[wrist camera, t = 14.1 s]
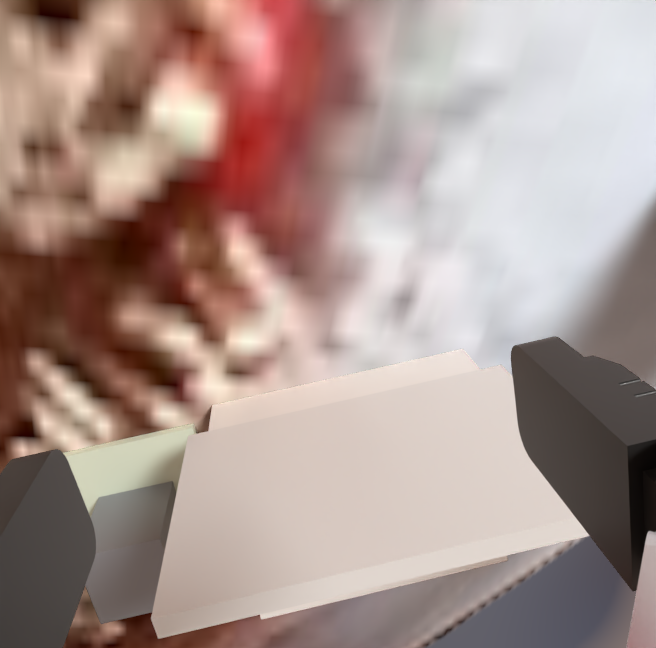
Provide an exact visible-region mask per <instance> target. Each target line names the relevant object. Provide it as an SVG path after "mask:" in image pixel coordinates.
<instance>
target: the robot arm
mask: <svg viewBox="0 0 656 648" xmlns="http://www.w3.org/2000/svg"><path fill="white" fill-rule="evenodd" d="M511 365H512V374H513V384H514V393H515V403H516V412H517V421H518V428H519V433H520V437H521V440H522V443H523V446H524V448H525V450H526V452H527V454H528V456H529V458H530V459H531V461H532V462H533V463H534V464H535V466H536V467H537V468H538V470H539V471H540V472H541V473H542V475H543V476H544V477H545V479H546V480H547V481H548V483H549V484H550V485H551V486H552V488H553V489H554V490H555V492H556V493H557V494H558V495H559V497H560V498H561V499H562V501H563V502H564V503H565V504H566V506H567V507H568V508H569V510H570V511H571V512H572V514H573V515H574V516H575V517H576V519H577V520H578V521H579V523H580V524H581V525H582V526H583V528H584V529H585V530H586V532H587V533H588V534H589V535H590V537H591V538H592V539H593V541H594V542H595V543H596V545H597V546H598V547H599V548H600V550H601V551H602V552H603V554H604V555H605V556H606V557H607V559H608V560H609V561H610V563H611V564H612V565H613V566H614V568H615V569H616V570H617V572H618V573H619V574H620V575H621V577H622V578H623V579H624V581H625V582H626V583H627V584H628V586H629V587H630V588H631V590H632V591H636V590H637V591H636V597H635V603H634V609H633V614H632V619H631V625H630V631H629V636H628V642H627V648H656V389H654V388H653V387H651V386H650V385H649V384H647V383H646V382H644V381H642V382H641V381H640V378H639V377H637V376H636V375H634V374H633V373H632V372H630V371H629V370H627V369H626V368H625V367H623V366H622V365H620V364H617V363H614V362H611V361H608V360H604V359H601V358H598V357H595V356H590V357H585V358H584V357H583V356H582V355H581V354H579V353H578V352H577V351H575V350H574V349H573V348H571V347H570V346H569V345H568V344H566V343H565V342H564V341H562V340H561V339H560V338H558V337H550V338H546V339H542V340H537V341H533V342H528V343H524V344H520V345H515V346H514V347H513V348H512V351H511ZM95 554H96V537H95V531H94V526H93V523H92V520H91V518H90V515H89V513H88V510H87V508H86V505H85V502H84V500H83V497H82V495H81V492H80V490H79V487H78V485H77V482H76V480H75V477H74V475H73V472H72V470H71V467H70V465H69V462H68V460H67V458H66V457H65V455H64V454H63V453H62V452H61V451H60V450H57V449H55V450H51V451H46V452H42V453H38V454H33V455H29V456H25V457H20V458H16V459H12V460H11V461H10V462H9V463H8V464H7V465H6V467H5V468H4V470H3V471H2V473H1V474H0V648H63V646H64V643H65V640H66V637H67V635H68V632H69V629H70V626H71V624H72V621H73V618H74V615H75V612H76V610H77V607H78V604H79V601H80V598H81V596H82V593H83V590H84V587H85V584H86V582H87V579H88V576H89V573H90V571H91V568H92V565H93V562H94V559H95Z"/></svg>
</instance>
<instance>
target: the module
mask: <svg viewBox="0 0 656 648" xmlns="http://www.w3.org/2000/svg"><path fill="white" fill-rule="evenodd" d="M175 498H176V490H175V487H174V483H173V481H170V482H166V483H161V484H157V485H152V486H148V487H143V488H138V489H134V490H129V491H125V492H120V493H116V494H111V495H107V496H102V497H99V498H98V500H97V503H96V505H95V508H94V510H93V513H92V515H91V520H92V523H93V526H94V531H95V537H96V554H95V559H94V562H93V565H92V568H91V571H90V573H89V576H88V579H87V582H86V584H85V586H86V589H87V591H88V593H89V596H90V598H91V601H92V603H93V606H94V608H95V611H96V613H97V616H98V618H99V621H100V623H101V624H103V623H107V622H111V621H116V620H120V619H125V618H129V617H133V616H138V615H142V614H146V613H151V612H152V611H153V606H154V601H155V596H156V591H157V587H158V582H159V577H160V572H161V567H162V562H163V557H164V552H165V547H166V542H167V537H168V533H169V528H170V523H171V518H172V513H173V508H174V503H175Z"/></svg>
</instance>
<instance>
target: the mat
mask: <svg viewBox="0 0 656 648" xmlns="http://www.w3.org/2000/svg"><path fill="white" fill-rule="evenodd" d="M194 434H197V433H196V429H195V426H194V423H193V424H189V425H184V426H180V427H175V428H171V429H166V430H162V431H158V432H153V433H149V434H144V435H140V436H136V437H131V438H127V439H122V440H118V441H113V442H109V443H105V444H100V445H96V446H91V447H87V448H83V449H78V450H74V451H69V452H65V453H63V454H64V455H65V457H66V458H67V460H68V462H69V465H70V467H71V470H72V472H73V475H74V477H75V480H76V482H77V485H78V487H79V490H80V492H81V495H82V497H83V500H84V502H85V505H86V508H87V510H88V513H89V515H90V518H91V515H92V513H93V510H94V508H95V505H96V503H97V500H98V498H99V497H102V496H107V495H111V494H116V493H120V492H125V491H129V490H134V489H138V488H143V487H148V486H152V485H157V484H161V483H166V482H170V481H173V483H174V487H175V490H176V493H177V488H178V483H179V479H180V474H181V469H182V464H183V459H184V454H185V449H186V444H187V439H188V436H189V435H194Z"/></svg>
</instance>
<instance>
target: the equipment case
mask: <svg viewBox="0 0 656 648" xmlns="http://www.w3.org/2000/svg"><path fill="white" fill-rule="evenodd" d="M587 536H590V535H589V534H588V533H587V532H586V530H585V529H584V528H583V526H582V525H581V524H580V523H579V521H578V520H577V519H576V517H575V516H574V515H573V514H572V512H571V511H570V510H569V508H568V507H567V506H566V504H565V503H564V502H563V501H562V499H561V498H560V497H559V495H558V494H557V493H556V492H555V490H554V489H553V488H552V486H551V485H550V484H549V483H548V481H547V480H546V479H545V477H544V476H543V475H542V473H541V472H540V471H539V470H538V468H537V467H536V466H535V464H534V463H533V462H532V461H531V459H530V458H529V456H528V454H527V452H526V450H525V448H524V446H523V443H522V440H521V437H520V433H519V428H518V421H517V412H516V403H515V393H514V384H513V377H512V375H511V374H510V373H509V372H508V371H507V370H506V369H505V368H504V367H503V366H502V365H497V366H493V367H488V368H484V369H480V368H479V367H478V366H477V365H476V364H475V362H474V361H473V360H472V359H471V358H470V357H469V355H468V354H467V353H466V352H465V351H464V350H463V349H458V350H454V351H449V352H445V353H441V354H436V355H432V356H427V357H423V358H418V359H414V360H410V361H405V362H401V363H396V364H392V365H387V366H383V367H379V368H374V369H370V370H365V371H361V372H356V373H352V374H348V375H343V376H339V377H334V378H330V379H325V380H321V381H316V382H312V383H308V384H303V385H299V386H294V387H290V388H285V389H281V390H277V391H272V392H268V393H263V394H259V395H254V396H250V397H246V398H241V399H237V400H232V401H228V402H223V403H219V404H215V405H212V409H211V416H210V423H209V430H208V431H207V432H202V433H198V434H194V435H189V436H188V439H187V444H186V449H185V454H184V459H183V464H182V469H181V474H180V479H179V483H178V488H177V493H176V498H175V503H174V508H173V513H172V518H171V523H170V528H169V533H168V537H167V542H166V547H165V552H164V557H163V562H162V567H161V572H160V577H159V582H158V587H157V591H156V596H155V601H154V606H153V611H152V616H151V621H152V623H153V626H154V628H155V631H156V634H157V636H158V639H160V638H164V637H168V636H172V635H177V634H181V633H185V632H189V631H193V630H197V629H202V628H206V627H210V626H214V625H218V624H223V623H227V622H231V621H235V620H239V619H243V618H248V617H252V616H256V615H260V617H261V620H262V619H266V618H270V617H274V616H278V615H283V614H287V613H291V612H295V611H299V610H304V609H308V608H312V607H316V606H320V605H324V604H329V603H333V602H337V601H341V600H345V599H349V598H354V597H358V596H362V595H366V594H370V593H375V592H379V591H383V590H387V589H391V588H395V587H400V586H404V585H408V584H412V583H416V582H421V581H425V580H429V579H433V578H437V577H441V576H446V575H450V574H454V573H458V572H462V571H466V570H471V569H475V568H479V567H483V566H487V565H492V564H496V563H500V562H504V561H508V558H507V555H511V554H515V553H520V552H524V551H528V550H532V549H536V548H541V547H545V546H549V545H553V544H557V543H561V542H566V541H570V540H574V539H578V538H582V537H587Z"/></svg>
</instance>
